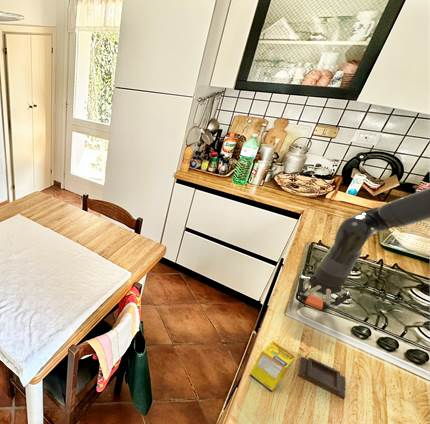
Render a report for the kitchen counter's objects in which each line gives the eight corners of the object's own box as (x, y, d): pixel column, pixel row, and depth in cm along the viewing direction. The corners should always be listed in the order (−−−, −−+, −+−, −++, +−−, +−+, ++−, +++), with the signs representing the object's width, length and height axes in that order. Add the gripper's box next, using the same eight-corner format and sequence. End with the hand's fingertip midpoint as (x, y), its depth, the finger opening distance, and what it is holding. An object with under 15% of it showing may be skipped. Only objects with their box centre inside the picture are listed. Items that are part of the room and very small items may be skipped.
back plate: (343, 379, 85) (347, 375, 84) (343, 399, 80) (347, 395, 79) (300, 358, 90) (302, 354, 89) (297, 375, 86) (300, 371, 84)
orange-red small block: (319, 305, 107) (323, 299, 106) (318, 313, 104) (322, 307, 103) (303, 299, 110) (307, 293, 108) (302, 307, 107) (306, 301, 105)
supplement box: (281, 380, 84) (297, 356, 79) (271, 393, 81) (286, 368, 76) (259, 363, 89) (272, 339, 83) (248, 375, 86) (262, 350, 80)
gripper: (363, 272, 97) (337, 309, 106) (308, 254, 105) (288, 290, 114) (363, 285, 92) (337, 323, 101) (306, 265, 100) (285, 302, 109)
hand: (311, 305), depth 107 cm, fingers closed on orange-red small block, 4 cm apart
